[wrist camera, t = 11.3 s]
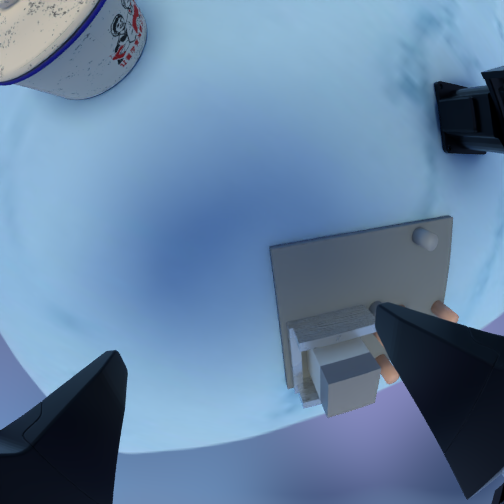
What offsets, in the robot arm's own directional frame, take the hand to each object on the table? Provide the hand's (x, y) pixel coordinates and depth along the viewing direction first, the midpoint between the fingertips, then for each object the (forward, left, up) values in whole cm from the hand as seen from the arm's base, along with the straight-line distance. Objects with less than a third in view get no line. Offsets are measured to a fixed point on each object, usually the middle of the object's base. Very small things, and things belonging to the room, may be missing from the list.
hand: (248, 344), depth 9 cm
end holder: (-6, +11, -12) cm, 18 cm away
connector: (-6, +11, -11) cm, 17 cm away
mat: (-11, +8, -12) cm, 18 cm away
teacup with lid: (+8, -18, -12) cm, 23 cm away
